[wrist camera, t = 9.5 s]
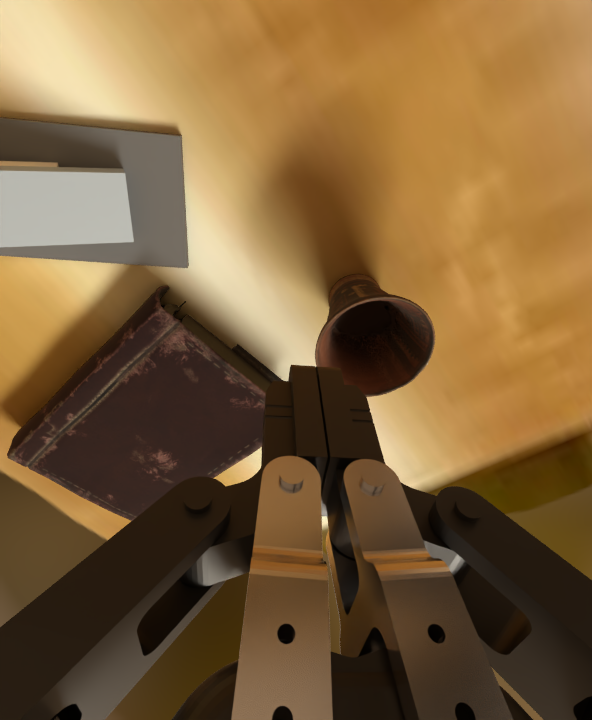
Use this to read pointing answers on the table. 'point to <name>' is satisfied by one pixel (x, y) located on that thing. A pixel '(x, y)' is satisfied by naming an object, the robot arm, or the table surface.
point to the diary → (148, 413)
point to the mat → (143, 178)
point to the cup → (374, 336)
